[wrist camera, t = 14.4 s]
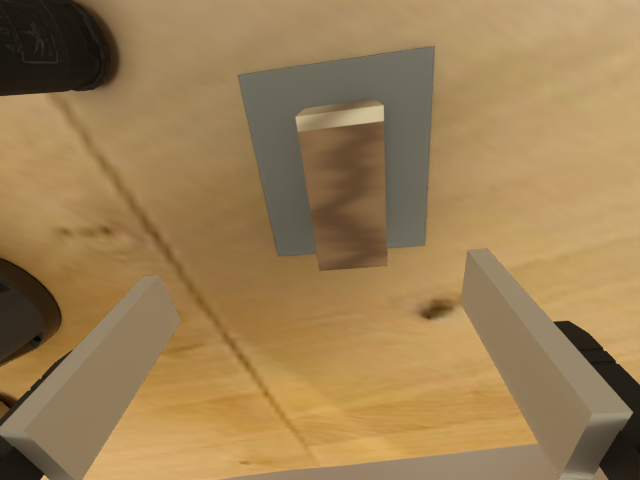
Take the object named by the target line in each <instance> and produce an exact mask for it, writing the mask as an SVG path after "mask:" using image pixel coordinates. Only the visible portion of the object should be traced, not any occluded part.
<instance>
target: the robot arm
mask: <svg viewBox="0 0 640 480" xmlns="http://www.w3.org/2000/svg"><path fill="white" fill-rule="evenodd" d="M461 305H462V306H463V308H464V310H465V312H466V314H467V315H468V317H469V319H470V321H471V323H472V324H473V326H474V328H475V330H476V331H477V333H478V335H479V337H480V339H481V340H482V342H483V344H484V346H485V348H486V349H487V351H488V353H489V355H490V357H491V358H492V360H493V362H494V364H495V366H496V367H497V369H498V371H499V373H500V375H501V376H502V378H503V380H504V382H505V384H506V385H507V387H508V389H509V391H510V393H511V394H512V396H513V398H514V400H515V402H516V403H517V405H518V407H519V409H520V411H521V412H522V414H523V416H524V418H525V420H526V421H527V423H528V425H529V427H530V429H531V430H532V432H533V434H534V436H535V438H536V439H537V441H538V443H539V445H540V447H541V448H542V450H543V452H544V454H545V456H546V457H547V459H548V461H549V463H550V464H551V466H552V468H553V470H554V472H555V473H556V475H557V477H558V479H592V477H593V476H594V475H595V473H596V471H597V470H598V468H599V467H600V468H601V469H602V470H603V472H604V474H605V475H606V476H607V478H608V479H609V480H640V385H639V384H638V383H637V382H636V381H635V380H634V379H633V378H632V377H631V376H630V375H629V374H628V373H627V372H626V371H625V370H624V369H623V368H622V367H621V366H620V365H619V364H616V361H615V360H614V359H613V357H612V356H611V355H610V354H609V353H608V352H607V351H604V350H603V347H602V346H601V345H600V344H599V343H598V342H597V341H596V340H595V339H594V338H593V337H592V336H591V335H590V334H589V333H587V332H586V331H584V330H583V329H581V328H579V327H578V326H576V325H575V324H573V323H571V322H570V321H557V322H553V321H552V320H551V319H550V318H549V317H548V316H547V315H546V314H545V312H544V311H543V310H542V309H541V308H540V307H539V306H538V305H537V303H536V302H535V301H534V300H533V299H532V298H531V297H530V296H529V294H528V293H527V292H526V291H525V290H524V289H523V288H522V287H521V285H520V284H519V283H518V282H517V281H516V280H515V279H514V278H513V276H512V275H511V274H510V273H509V272H508V271H507V270H506V269H505V267H504V266H503V265H502V264H501V263H500V262H499V261H498V260H497V258H496V257H495V256H494V255H493V254H492V253H491V252H490V251H489V249H488V248H485V249H473V250H467V258H466V266H465V274H464V281H463V289H462V297H461ZM180 322H181V320H180V318H179V316H178V313H177V311H176V309H175V307H174V305H173V303H172V300H171V298H170V296H169V294H168V292H167V289H166V287H165V285H164V283H163V281H162V279H161V276H160V275H152V276H143V277H142V278H141V279H140V280H139V281H138V283H137V284H136V285H135V286H134V287H133V288H132V289H131V290H130V291H129V292H128V293H127V294H126V295H125V296H124V297H123V298H122V299H121V300H120V301H119V303H118V304H117V305H116V306H115V307H114V308H113V309H112V310H111V311H110V312H109V313H108V314H107V315H106V316H105V317H104V318H103V319H102V320H101V321H100V323H99V324H98V325H97V326H96V327H95V328H94V329H93V330H92V331H91V332H90V333H89V334H88V335H87V336H86V337H85V338H84V339H83V340H82V341H81V342H80V344H79V345H78V346H77V347H76V348H75V349H74V350H72V351H70V352H69V353H68V354H66V355H65V356H63V357H62V358H61V359H59V360H58V361H57V362H55V363H54V364H53V365H52V366H51V367H50V368H49V369H48V370H47V371H46V372H45V374H44V375H43V376H42V378H41V379H39V380H38V381H37V382H36V383H35V384H34V385H33V386H32V387H31V390H30V391H27V392H26V393H25V394H24V395H23V396H22V397H21V398H20V399H19V400H18V401H17V402H16V403H15V404H14V405H13V406H12V407H11V408H10V409H9V411H8V412H7V413H6V414H5V415H4V416H3V417H2V418H1V419H0V480H40V479H41V478H42V477H43V475H45V476H46V477H47V478H49V479H50V480H82V479H83V478H84V476H85V474H86V473H87V471H88V469H89V468H90V466H91V465H92V463H93V461H94V460H95V458H96V457H97V455H98V453H99V452H100V450H101V449H102V447H103V445H104V444H105V442H106V441H107V439H108V437H109V436H110V434H111V433H112V431H113V429H114V428H115V426H116V425H117V423H118V421H119V420H120V418H121V417H122V415H123V413H124V412H125V410H126V409H127V407H128V405H129V404H130V402H131V401H132V399H133V397H134V396H135V394H136V393H137V391H138V389H139V388H140V386H141V385H142V383H143V381H144V380H145V378H146V377H147V375H148V373H149V372H150V370H151V369H152V367H153V365H154V364H155V362H156V361H157V359H158V357H159V356H160V354H161V353H162V351H163V349H164V348H165V346H166V345H167V343H168V341H169V340H170V338H171V336H172V335H173V333H174V332H175V330H176V328H177V327H178V325H179V324H180ZM59 325H60V313H59V310H58V307H57V305H56V303H55V301H54V300H53V298H52V297H51V296H50V294H49V293H48V292H47V291H46V289H45V288H44V287H43V286H42V285H41V284H40V283H38V282H37V281H36V280H35V279H34V278H32V277H31V276H30V275H28V274H27V273H26V272H24V271H23V270H21V269H19V268H18V267H16V266H14V265H12V264H10V263H8V262H6V261H3V260H1V259H0V367H1V366H3V365H5V364H7V363H9V362H11V361H13V360H15V359H17V358H19V357H21V356H22V355H24V354H26V353H28V352H30V351H32V350H34V349H36V348H38V347H39V346H41V345H42V344H43V343H44V342H46V341H47V340H48V339H49V338H50V337H51V336H52V335H53V334H54V333H56V331H57V330H58V328H59Z"/></svg>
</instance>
